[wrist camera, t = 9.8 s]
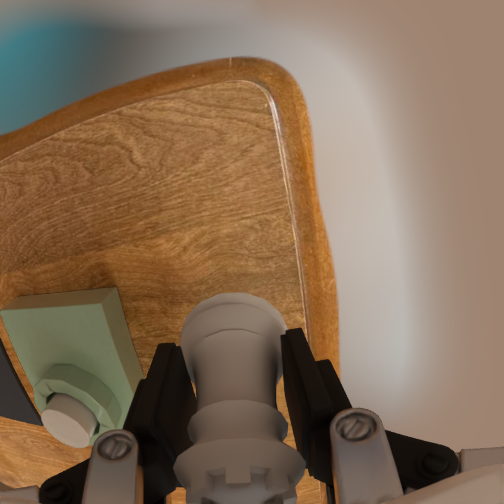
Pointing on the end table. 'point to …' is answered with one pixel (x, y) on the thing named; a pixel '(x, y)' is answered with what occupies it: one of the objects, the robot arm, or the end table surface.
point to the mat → (14, 394)
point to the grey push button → (69, 420)
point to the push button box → (77, 350)
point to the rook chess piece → (236, 405)
